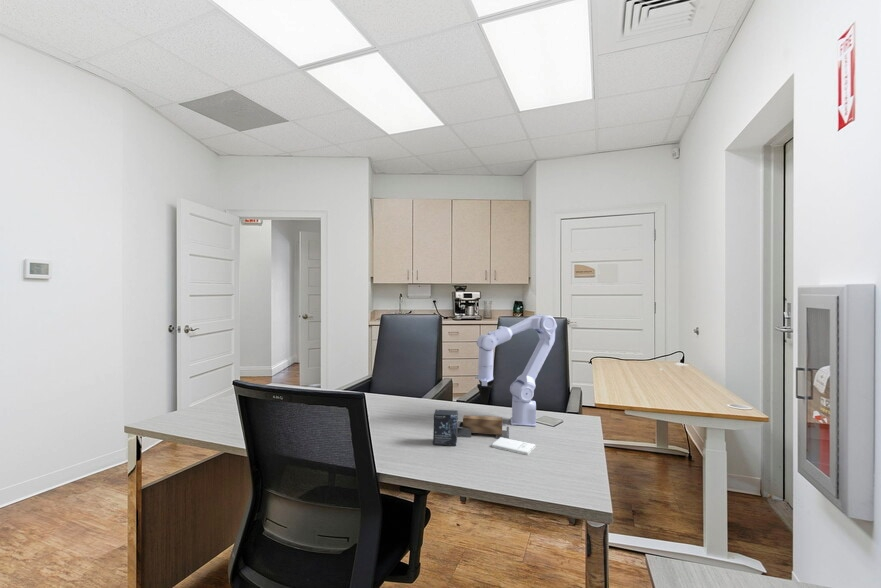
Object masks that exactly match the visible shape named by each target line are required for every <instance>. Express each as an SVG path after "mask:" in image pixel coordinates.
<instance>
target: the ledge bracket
mask: <svg viewBox="0 0 881 588" xmlns="http://www.w3.org/2000/svg"><path fill="white" fill-rule="evenodd" d="M509 434H510V426H506V430H504V429H502V435H500V434H495V439H499V438H500V437H502V438H507V439H510V438H509V436H510V435H509Z"/></svg>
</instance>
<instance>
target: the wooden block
mask: <svg viewBox="0 0 881 588" xmlns="http://www.w3.org/2000/svg"><path fill="white" fill-rule="evenodd" d="M462 421H463V427H467V428H471V432H472V434H474V433H475V434H476V433H477V434H478V433H479V434H487V435H488V434H489V435H496V434H500V435H502V430H503V417H496V416H484V415H483V416H482V415H467V414H466V415H465V414H464V415H463V417H462Z"/></svg>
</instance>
